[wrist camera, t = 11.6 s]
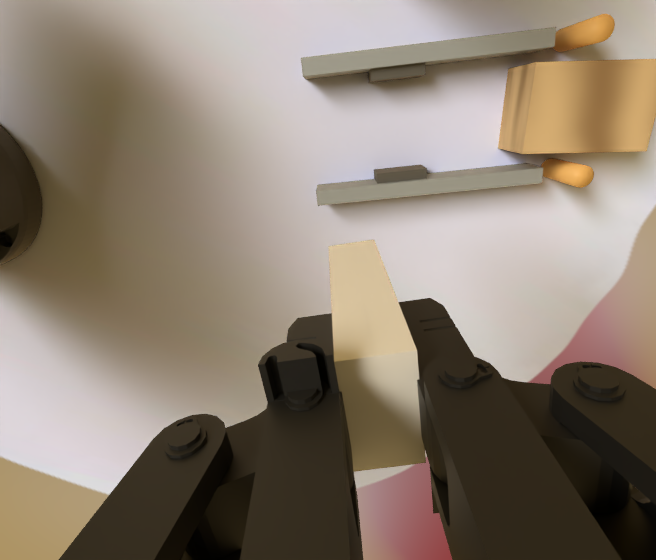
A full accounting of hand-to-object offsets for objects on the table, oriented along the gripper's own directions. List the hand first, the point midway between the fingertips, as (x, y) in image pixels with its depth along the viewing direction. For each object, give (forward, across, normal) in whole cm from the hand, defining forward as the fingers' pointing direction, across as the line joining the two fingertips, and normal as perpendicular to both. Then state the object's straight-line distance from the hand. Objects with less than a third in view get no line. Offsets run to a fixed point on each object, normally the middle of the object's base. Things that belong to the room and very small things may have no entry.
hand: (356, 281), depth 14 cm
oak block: (+24, +19, +2) cm, 30 cm away
